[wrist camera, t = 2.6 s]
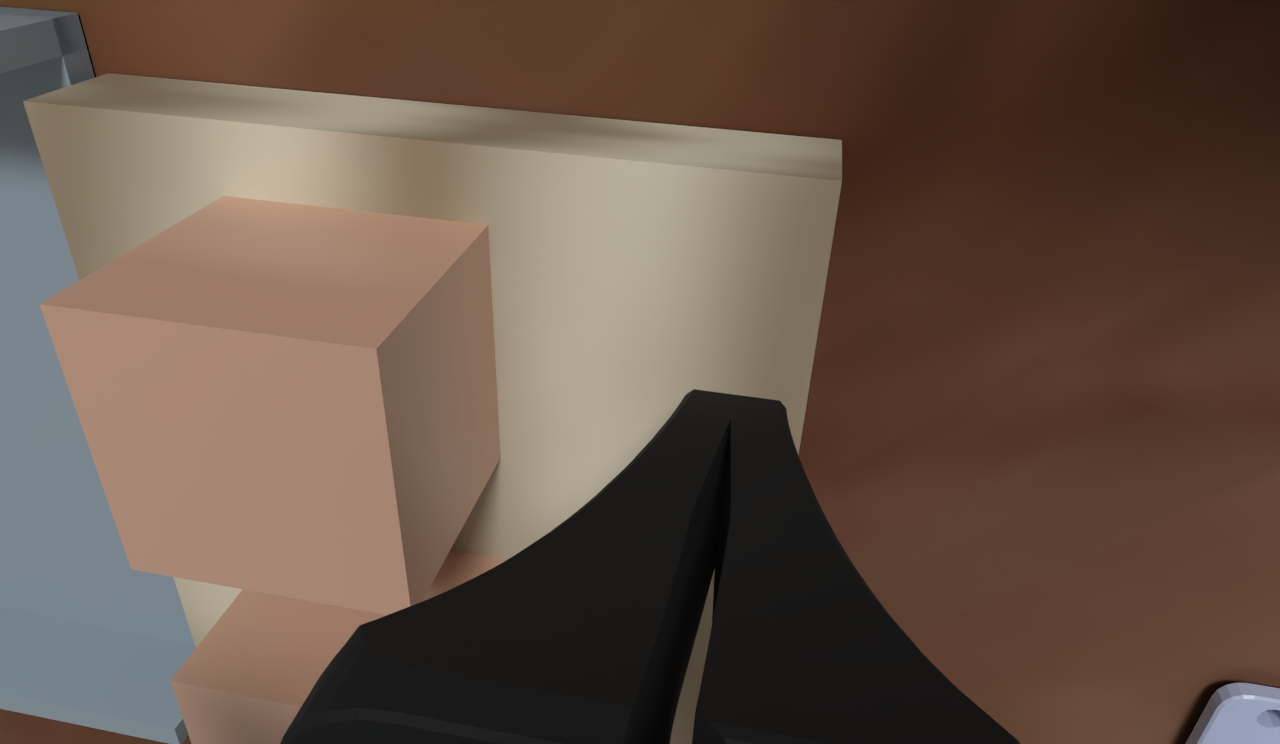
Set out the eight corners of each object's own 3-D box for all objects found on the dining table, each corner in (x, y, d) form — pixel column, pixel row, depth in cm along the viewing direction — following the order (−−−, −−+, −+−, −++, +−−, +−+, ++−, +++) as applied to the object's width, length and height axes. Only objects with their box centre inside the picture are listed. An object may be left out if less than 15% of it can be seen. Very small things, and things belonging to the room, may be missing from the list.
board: (842, 139, 14) (841, 180, 13) (752, 716, 22) (744, 791, 20) (108, 72, 16) (23, 100, 14) (253, 624, 23) (208, 686, 22)
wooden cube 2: (505, 559, 18) (426, 731, 14) (514, 710, 20) (447, 889, 17) (293, 525, 18) (170, 680, 15) (325, 675, 21) (224, 839, 17)
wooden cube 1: (487, 225, 14) (376, 349, 11) (500, 457, 16) (411, 619, 13) (223, 195, 15) (39, 304, 11) (272, 423, 17) (131, 568, 14)
